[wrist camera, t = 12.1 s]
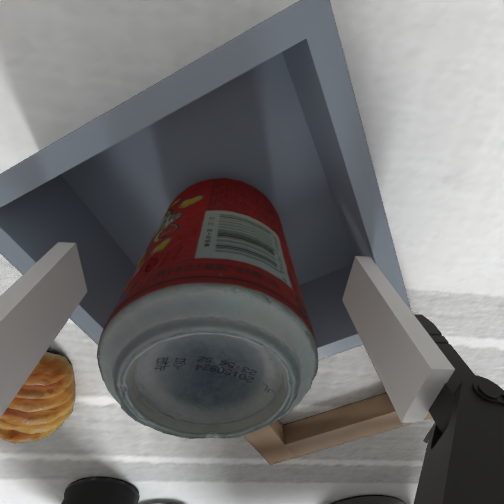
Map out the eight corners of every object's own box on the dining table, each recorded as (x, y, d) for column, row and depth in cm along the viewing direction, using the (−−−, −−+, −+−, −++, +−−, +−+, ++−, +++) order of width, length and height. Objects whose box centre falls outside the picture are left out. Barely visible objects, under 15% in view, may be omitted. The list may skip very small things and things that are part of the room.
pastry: (8, 333, 25) (-26, 372, 22) (92, 355, 27) (72, 393, 24) (-1, 398, 29) (-30, 440, 26) (73, 413, 31) (54, 453, 28)
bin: (367, 260, 23) (414, 326, 17) (184, 333, 26) (169, 412, 20) (289, 21, 15) (325, -15, 9) (43, 161, 18) (-53, 204, 12)
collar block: (422, 398, 32) (433, 417, 30) (268, 446, 35) (270, 465, 34) (385, 274, 24) (397, 290, 22) (187, 351, 27) (184, 370, 25)
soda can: (170, 159, 17) (69, 286, 7) (289, 179, 18) (361, 318, 8) (166, 262, 21) (94, 453, 10) (266, 274, 22) (294, 461, 11)
